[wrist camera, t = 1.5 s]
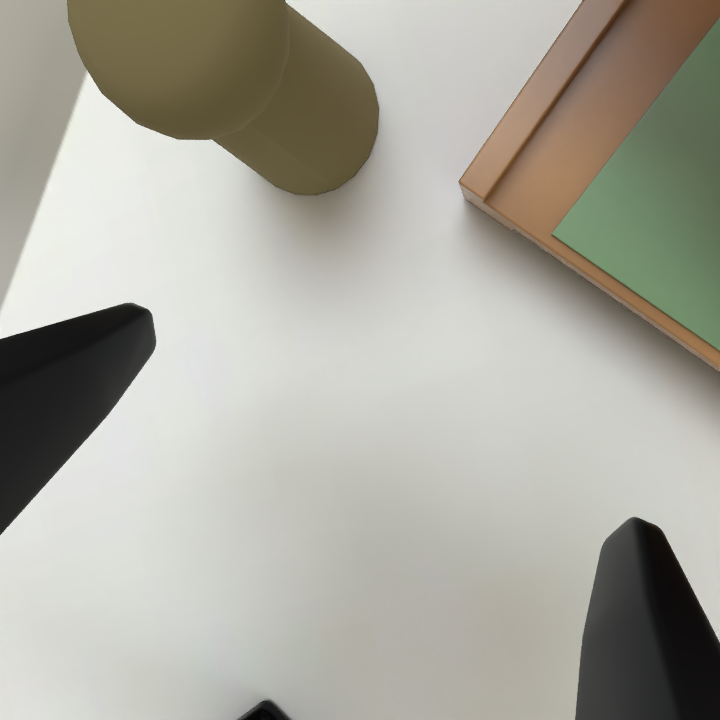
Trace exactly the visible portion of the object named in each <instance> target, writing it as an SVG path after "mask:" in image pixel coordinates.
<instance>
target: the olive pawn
mask: <svg viewBox="0 0 720 720" xmlns="http://www.w3.org/2000/svg"><path fill="white" fill-rule="evenodd" d="M67 6H68V21H69V25H70V28H71V31H72V34H73V38H74V41H75V44H76V47H77V51H78V53H79V55H80V57H81V59H82V62H83V63H84V66H85V67H86V69H87V70H88V72H89V74H90V75H91V77H92V78H93V80H94V82H95V83H96V85H97V86H98V88H99V90H100V91H101V93H102V94H103V95H104V96H106V97H107V98H108V99H109V100H110V101H111V102H112V103H114V104H115V105H116V106H117V107H118V108H119V109H120V110H122V111H123V112H124V113H125V114H126V115H127V116H129V117H130V118H131V119H132V120H133V121H135V122H136V123H137V124H139V125H141V126H144V127H146V128H149V129H151V130H154V131H156V132H159V133H161V134H164V135H167V136H169V137H172V138H175V139H181V140H209V139H212V140H214V141H215V142H216V143H218V144H219V145H220V146H222V147H223V148H224V149H226V150H227V151H228V152H230V153H231V154H233V155H234V156H235V157H237V158H238V159H239V160H241V161H242V162H243V163H245V164H246V165H247V166H249V167H250V168H252V169H253V170H254V171H256V172H257V173H258V174H260V175H261V176H262V177H264V178H265V179H267V180H268V181H269V182H271V183H272V184H273V185H275V186H276V187H278V188H281V189H283V190H286V191H288V192H291V193H293V194H299V195H318V194H321V193H325V192H328V191H331V190H334V189H337V188H338V187H340V186H341V185H342V184H344V183H345V182H346V181H348V180H349V179H351V178H352V177H353V176H355V174H356V173H357V172H358V170H359V169H360V168H361V166H362V165H363V164H364V162H365V161H366V160H367V158H368V157H369V155H370V152H371V149H372V146H373V143H374V141H375V138H376V135H377V129H378V113H379V107H378V102H377V98H376V94H375V89H374V85H373V82H372V81H371V79H370V77H369V76H368V74H367V72H366V71H365V69H364V67H363V66H362V64H361V63H360V62H359V61H358V60H357V59H356V58H354V57H353V56H352V55H351V54H350V53H349V52H347V51H346V50H345V49H344V48H343V47H341V46H340V45H339V44H337V43H336V42H335V41H334V40H332V39H331V38H330V37H329V36H327V35H326V34H325V33H324V32H322V31H321V30H320V29H318V28H317V27H316V26H315V25H313V24H312V23H311V22H310V21H308V20H307V19H306V18H304V17H303V16H302V15H301V14H299V13H298V12H297V11H296V10H294V9H293V8H292V7H291V6H289V5H288V4H287V3H286V2H285V0H67Z"/></svg>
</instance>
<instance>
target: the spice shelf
mask: <svg viewBox="0 0 720 720" xmlns="http://www.w3.org/2000/svg"><path fill="white" fill-rule="evenodd" d="M459 185H460V187H461V190H462V193H463V196H464V198H465V199H466V200H468V201H469V202H471V203H472V204H474V205H475V206H476V207H478V208H479V209H481V210H482V211H484V212H485V213H486V214H488V215H489V216H491V217H492V218H494V219H495V220H497V221H498V222H499V223H501V224H502V225H504V226H505V227H507V228H508V229H509V230H514V229H515V230H516V231H518V232H519V233H520V234H522V235H523V236H525V237H526V238H528V239H529V240H531V241H532V242H533V243H535V244H536V245H538V246H539V247H541V248H542V249H543V250H545V251H546V252H548V253H549V254H551V255H552V256H553V257H555V258H556V259H558V260H559V261H561V262H562V263H564V264H565V265H566V266H568V267H569V268H571V269H572V270H574V271H575V272H576V273H578V274H579V275H581V276H582V277H584V278H585V279H586V280H588V281H589V282H591V283H592V284H594V285H595V286H597V287H598V288H599V289H601V290H602V291H604V292H605V293H607V294H608V295H609V296H611V297H612V298H614V299H615V300H617V301H618V302H619V303H621V304H622V305H624V306H625V307H627V308H628V309H630V310H631V311H632V312H634V313H635V314H637V315H638V316H640V317H641V318H642V319H644V320H645V321H647V322H648V323H650V324H651V325H652V326H654V327H655V328H657V329H658V330H660V331H661V332H663V333H664V334H665V335H667V336H668V337H670V338H671V339H673V340H674V341H675V342H677V343H678V344H680V345H681V346H683V347H684V348H685V349H687V350H688V351H690V352H691V353H693V354H694V355H696V356H697V357H698V358H700V359H701V360H703V361H704V362H706V363H707V364H708V365H710V366H711V367H713V368H714V369H716V370H717V371H718V372H720V0H583V1H582V2H581V4H580V5H579V7H578V8H577V10H576V11H575V13H574V14H573V16H572V17H571V18H570V20H569V21H568V23H567V24H566V26H565V27H564V29H563V30H562V32H561V33H560V34H559V36H558V37H557V39H556V40H555V42H554V43H553V45H552V46H551V48H550V49H549V50H548V52H547V53H546V55H545V56H544V58H543V59H542V61H541V62H540V64H539V65H538V67H537V68H536V69H535V71H534V72H533V74H532V75H531V77H530V78H529V80H528V81H527V83H526V84H525V85H524V87H523V88H522V90H521V91H520V93H519V94H518V96H517V97H516V99H515V100H514V101H513V103H512V104H511V106H510V107H509V109H508V110H507V112H506V113H505V115H504V116H503V117H502V119H501V120H500V122H499V123H498V125H497V126H496V128H495V129H494V131H493V132H492V133H491V135H490V136H489V138H488V139H487V141H486V142H485V144H484V145H483V147H482V148H481V149H480V151H479V152H478V154H477V155H476V157H475V158H474V160H473V161H472V163H471V164H470V166H469V167H468V168H467V170H466V171H465V173H464V174H463V176H462V177H461V179H460V180H459Z"/></svg>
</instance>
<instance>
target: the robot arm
mask: <svg viewBox="0 0 720 720" xmlns="http://www.w3.org/2000/svg"><path fill="white" fill-rule="evenodd" d="M155 346H156V336H155V330H154V323H153V317H152V314H151V312H150V311H149V310H148V309H146V308H144V307H141V306H139V305H136V304H134V303H124V304H121V305H117V306H114V307H110V308H107V309H103V310H100V311H96V312H93V313H89V314H86V315H83V316H79V317H76V318H72V319H69V320H65V321H62V322H58V323H55V324H51V325H48V326H44V327H41V328H37V329H34V330H30V331H27V332H23V333H20V334H16V335H13V336H9V337H6V338H3V339H0V535H1V534H2V533H3V532H4V530H5V529H6V528H7V527H8V526H9V525H10V524H11V523H12V522H13V520H14V519H15V518H16V517H17V516H18V515H19V514H20V513H21V512H22V510H23V509H24V508H25V507H26V506H27V505H28V504H29V503H30V501H31V500H32V499H33V498H34V497H35V496H36V495H37V494H38V493H39V491H40V490H41V489H42V488H43V487H44V486H45V485H46V484H47V483H48V481H49V480H50V479H51V478H52V477H53V476H54V475H55V474H56V473H57V471H58V470H59V469H60V468H61V467H62V466H63V465H64V464H65V463H66V461H67V460H68V459H69V458H70V457H71V456H72V455H73V454H74V452H75V451H76V450H77V449H78V448H79V447H80V446H81V445H82V444H83V442H84V441H85V440H86V439H87V438H88V437H89V436H90V435H91V434H92V432H93V431H94V430H95V429H96V428H97V427H98V426H99V425H100V423H101V422H102V421H103V420H104V419H105V418H106V416H107V415H108V414H109V413H110V412H111V410H112V409H113V408H114V406H115V405H116V404H117V402H118V401H119V400H120V398H121V397H122V395H123V394H124V393H125V391H126V390H127V388H128V387H129V386H130V384H131V383H132V381H133V380H134V379H135V377H136V376H137V374H138V373H139V372H140V370H141V369H142V368H143V366H144V365H145V363H146V362H147V361H148V359H149V358H150V356H151V355H152V353H153V352H154V349H155ZM238 720H287V719H286V718H285V717H284V716H283V715H282V714H281V713H280V712H279V711H278V710H277V709H276V708H275V707H274V706H273V705H272V704H271V703H269V702H266V701H263V702H261V703H260V704H258V705H257V706H256V707H254V708H253V709H252V710H250V711H249V712H247V713H246V714H245V715H243V716H242V717H241V718H239V719H238ZM575 720H720V642H719V640H718V638H717V636H716V634H715V632H714V630H713V628H712V626H711V625H710V623H709V621H708V619H707V617H706V615H705V613H704V611H703V609H702V607H701V605H700V603H699V601H698V599H697V597H696V595H695V593H694V591H693V589H692V587H691V585H690V584H689V582H688V580H687V578H686V576H685V574H684V572H683V570H682V568H681V566H680V564H679V562H678V560H677V558H676V556H675V554H674V552H673V550H672V548H671V546H670V544H669V543H668V541H667V539H666V537H665V535H664V533H663V531H662V530H661V529H660V528H659V527H658V526H656V525H654V524H652V523H649V522H647V521H645V520H642V519H640V518H637V517H632V518H629V519H628V520H627V521H626V522H624V523H623V524H622V525H621V526H620V527H619V528H618V529H617V530H616V531H614V532H613V533H612V534H611V535H610V536H609V537H608V538H607V539H606V540H605V542H604V544H603V546H602V548H601V552H600V556H599V561H598V566H597V570H596V575H595V580H594V585H593V589H592V594H591V599H590V604H589V608H588V613H587V618H586V622H585V628H584V633H583V640H582V648H581V658H580V670H579V682H578V693H577V705H576V716H575Z"/></svg>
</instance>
